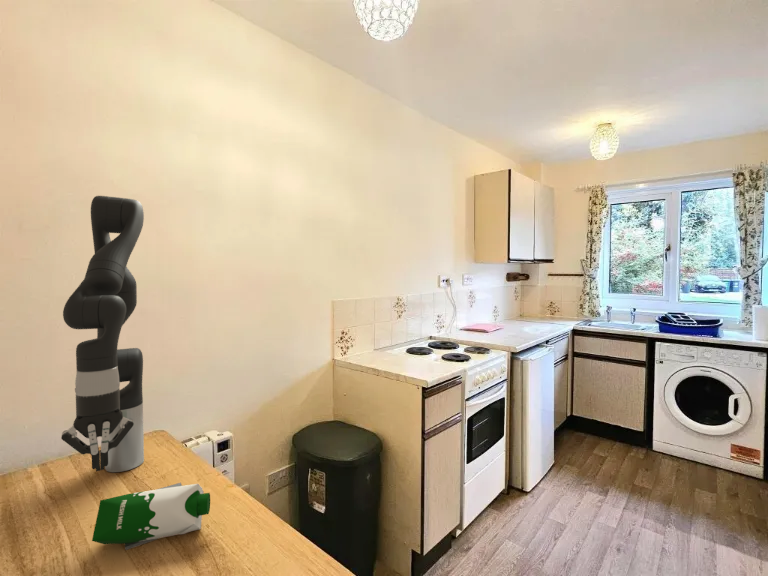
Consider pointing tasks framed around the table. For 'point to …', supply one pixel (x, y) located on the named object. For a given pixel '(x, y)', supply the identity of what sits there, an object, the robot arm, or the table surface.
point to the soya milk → (151, 514)
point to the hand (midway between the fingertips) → (100, 469)
